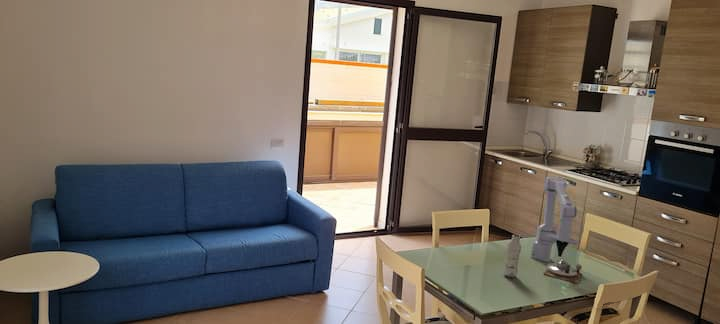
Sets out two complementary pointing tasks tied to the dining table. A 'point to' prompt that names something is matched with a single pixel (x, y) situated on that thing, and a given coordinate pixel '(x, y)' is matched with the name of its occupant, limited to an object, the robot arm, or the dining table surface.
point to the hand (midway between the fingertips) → (559, 256)
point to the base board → (570, 279)
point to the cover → (561, 264)
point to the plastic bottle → (512, 257)
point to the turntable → (565, 273)
